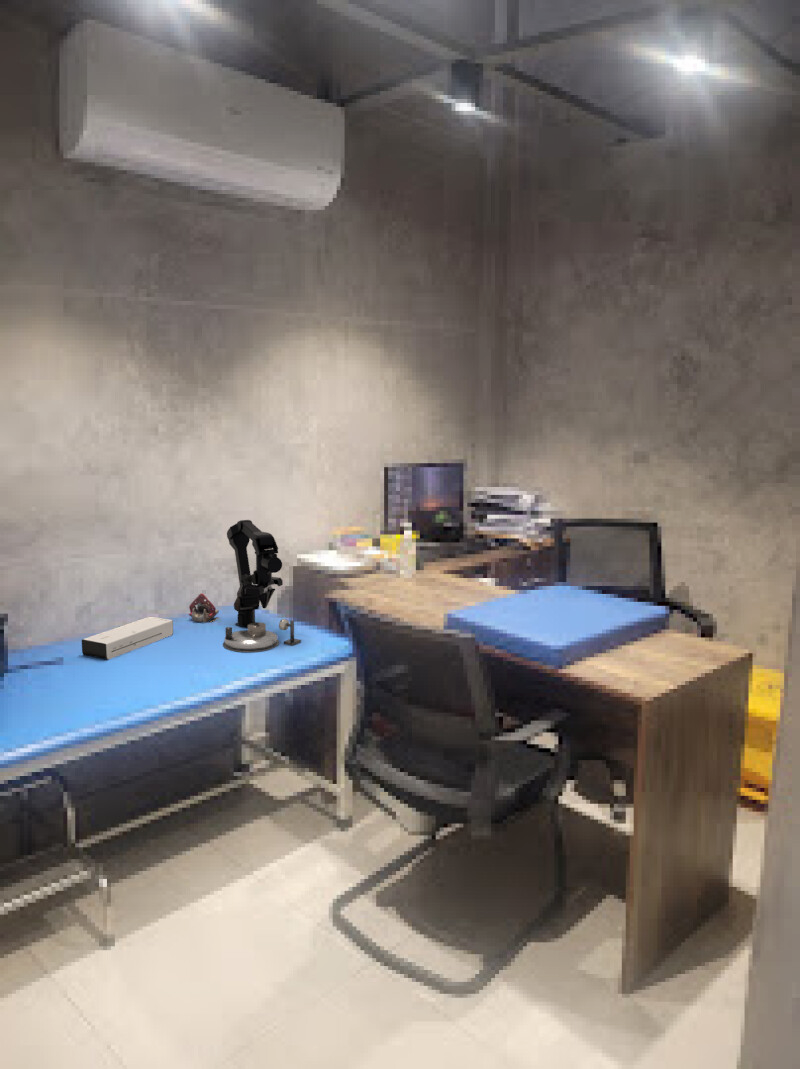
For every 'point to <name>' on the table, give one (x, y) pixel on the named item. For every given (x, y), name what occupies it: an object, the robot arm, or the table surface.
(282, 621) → the stand
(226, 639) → the turntable
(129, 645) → the laminator
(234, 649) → the turntable base
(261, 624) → the cover
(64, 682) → the table surface
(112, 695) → the table surface
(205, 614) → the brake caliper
